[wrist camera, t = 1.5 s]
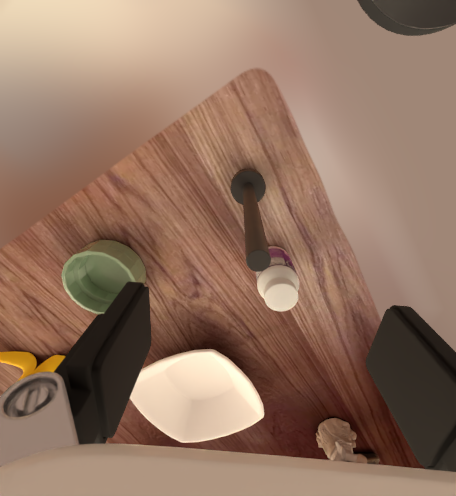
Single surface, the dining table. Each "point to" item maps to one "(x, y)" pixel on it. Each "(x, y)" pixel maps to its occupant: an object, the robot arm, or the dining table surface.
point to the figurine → (338, 441)
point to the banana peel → (30, 362)
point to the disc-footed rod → (252, 217)
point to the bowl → (197, 396)
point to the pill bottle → (279, 281)
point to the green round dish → (101, 274)
